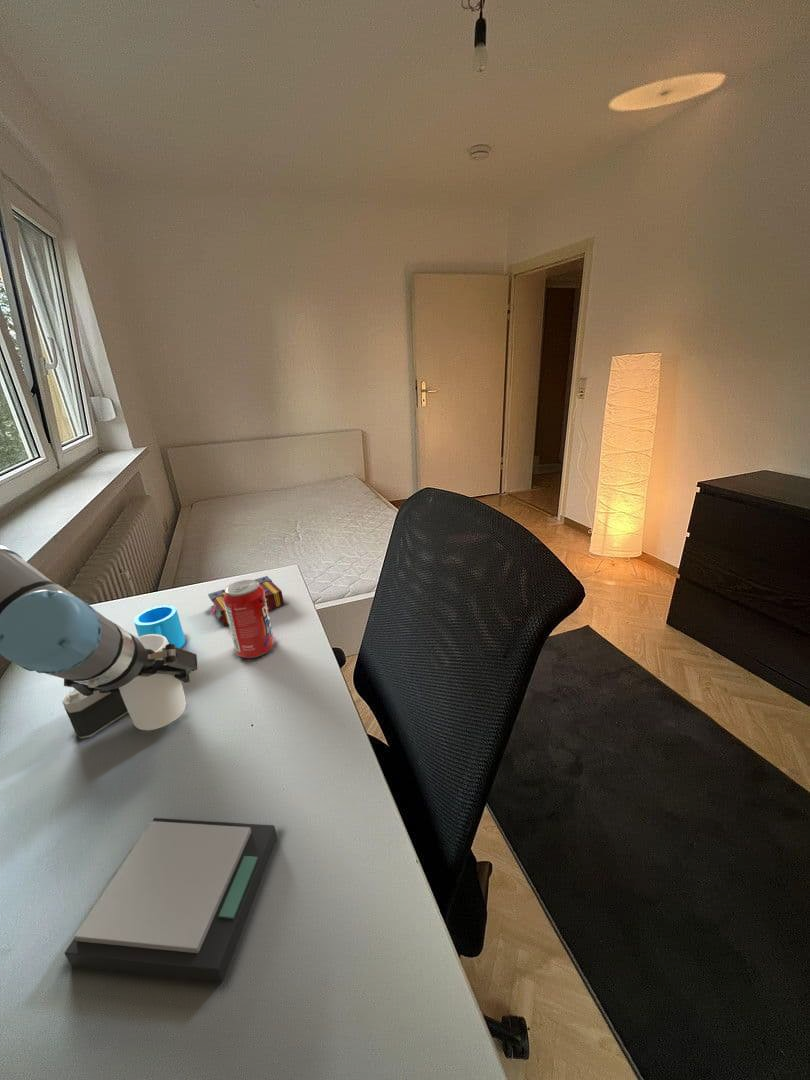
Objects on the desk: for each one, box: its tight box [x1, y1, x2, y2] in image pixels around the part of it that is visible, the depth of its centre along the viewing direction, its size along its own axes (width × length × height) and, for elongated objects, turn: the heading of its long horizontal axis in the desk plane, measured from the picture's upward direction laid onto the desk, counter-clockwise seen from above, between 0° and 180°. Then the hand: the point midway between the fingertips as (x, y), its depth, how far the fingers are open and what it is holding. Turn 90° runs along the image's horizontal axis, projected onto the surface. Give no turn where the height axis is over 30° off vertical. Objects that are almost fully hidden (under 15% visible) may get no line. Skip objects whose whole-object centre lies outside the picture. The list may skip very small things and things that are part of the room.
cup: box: [119, 634, 187, 731], centre depth 72 cm, size 8×8×14 cm
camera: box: [61, 689, 129, 739], centre depth 78 cm, size 16×9×10 cm, turn 149°
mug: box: [133, 604, 186, 649], centre depth 93 cm, size 12×8×8 cm
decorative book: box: [207, 575, 285, 627], centre depth 109 cm, size 11×16×5 cm
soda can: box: [223, 579, 275, 659], centre depth 91 cm, size 8×8×15 cm
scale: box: [64, 817, 278, 983], centre depth 49 cm, size 16×14×3 cm
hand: (157, 681), depth 76 cm, fingers closed on cup, 8 cm apart
